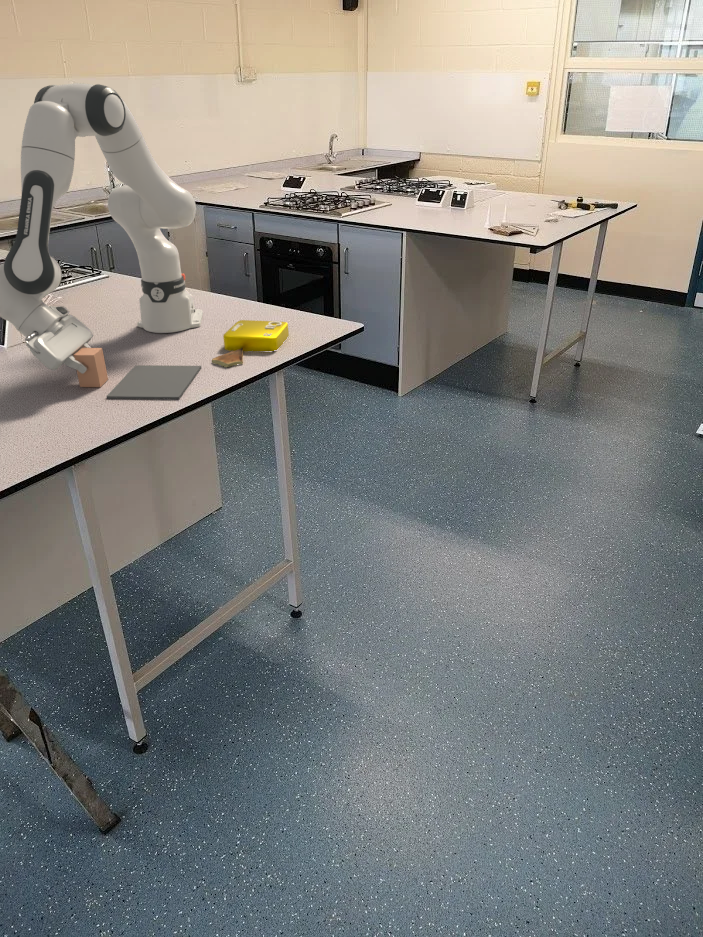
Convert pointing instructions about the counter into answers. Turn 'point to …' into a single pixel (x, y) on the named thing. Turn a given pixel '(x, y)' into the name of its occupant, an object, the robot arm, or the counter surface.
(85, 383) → the terracotta block
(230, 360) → the shard
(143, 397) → the charcoal mat
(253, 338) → the element tile
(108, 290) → the counter surface
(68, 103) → the robot arm
